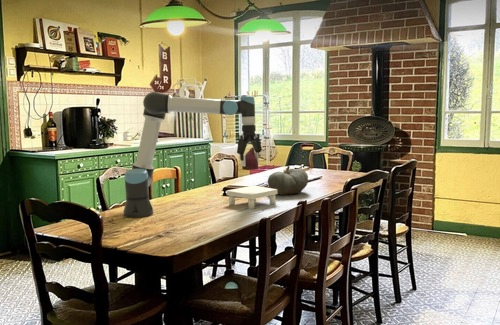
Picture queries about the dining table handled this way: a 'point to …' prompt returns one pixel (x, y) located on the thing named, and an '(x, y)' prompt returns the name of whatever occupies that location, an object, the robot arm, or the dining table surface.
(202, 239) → the dining table surface
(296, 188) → the gourd
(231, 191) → the footstool
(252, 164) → the vegetable
